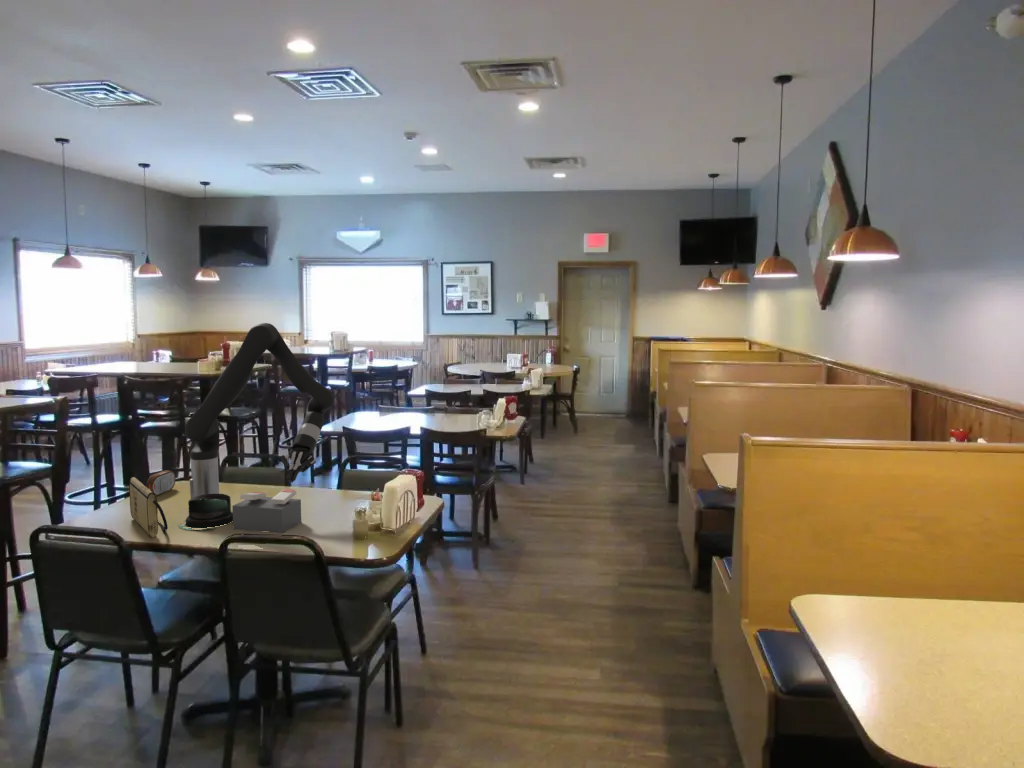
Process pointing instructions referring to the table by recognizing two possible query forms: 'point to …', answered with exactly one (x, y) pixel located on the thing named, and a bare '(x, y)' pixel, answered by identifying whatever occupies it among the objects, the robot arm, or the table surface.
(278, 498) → the right rocker
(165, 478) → the tin
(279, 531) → the switch box
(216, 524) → the dark green hat
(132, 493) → the clutch purse
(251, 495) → the left rocker
